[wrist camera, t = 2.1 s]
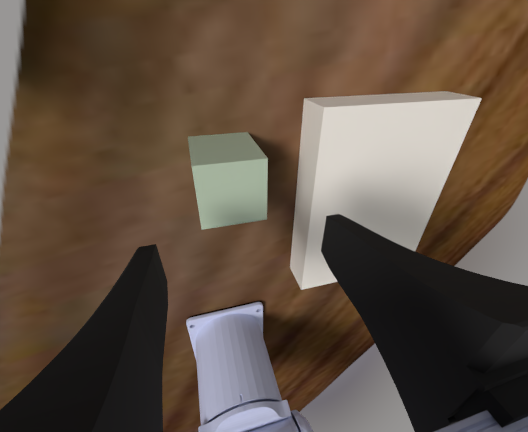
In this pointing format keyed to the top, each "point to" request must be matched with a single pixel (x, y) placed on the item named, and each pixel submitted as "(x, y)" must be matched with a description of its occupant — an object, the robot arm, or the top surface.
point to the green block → (229, 179)
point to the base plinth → (373, 168)
